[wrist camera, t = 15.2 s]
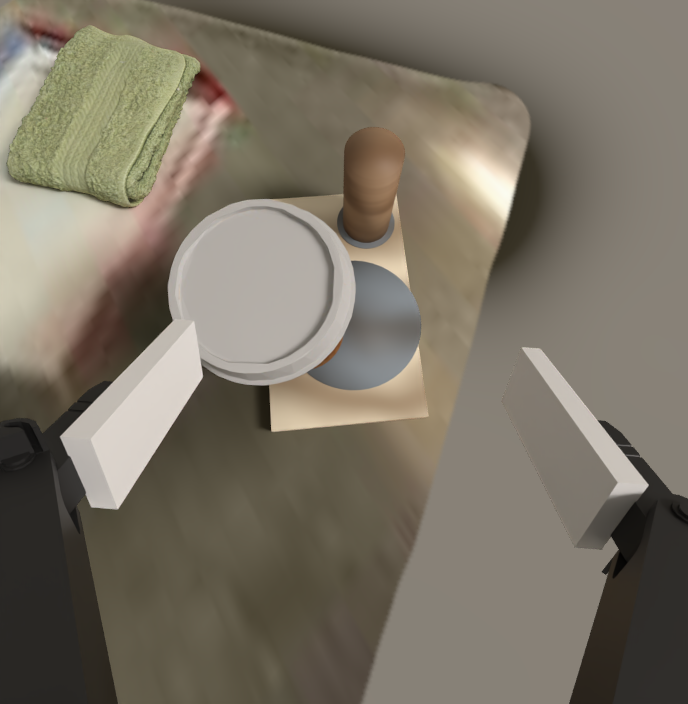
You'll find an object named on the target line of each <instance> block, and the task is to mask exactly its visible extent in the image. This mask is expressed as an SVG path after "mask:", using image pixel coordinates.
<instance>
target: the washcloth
mask: <svg viewBox="0 0 688 704" xmlns="http://www.w3.org/2000/svg"><path fill="white" fill-rule="evenodd" d="M51 70H52V71H51V72H50V73H49V75H48V77H47V78H46V80H45V81H44V86H43V87H41V89H40V95H39V96H38V97H37V98H36V102H35V103H34V105H33V106H32V108H31V111H30V112H29V114H28V115H27V116H25V117H24V118H23V119H22V126H21V127H19V128H18V129H19V130H18V132H17V135H16V136H15V138H14V140H13V144H10V148H9V149H10V153H9V157H8V161H7V166H8V169H9V173H10V175H11V176H12V177H14V179H16V180H19V181H20V182H25V183H31V184H35V185H40V186H45V187H47V186H49V187H52V188H57V189H59V190H61V191H68V192H69V191H72V190H74V191H77V192H82V193H88V194H91V195H93V196H95V197H96V198H98V199H100V200H102V201H110V202H112V203H115V204H117V205H118V204H119V205H120V206H123V207H135V206H137V205H139V204H140V203H141V202H142V201H143V199H144V197H146V196H147V195H148V194H149V193H150V191H151V190H152V187H153V184H154V182H155V181H156V174H157V172H158V170H159V168H160V165H161V159H162V157H163V155H164V154H165V153H166V149H167V146H168V144H169V140H170V137H171V135H172V129H173V128H174V126H175V123H177V119H180V116H179V114H181V112H180V111H181V110H182V109H183V108H182V106H183V103H184V102H185V101H186V98H187V97H186V95H187V94H188V89H189V88H191V87H192V81H194V76H195V74H197V73H198V72H200V63H199V62H198V61H197V60H196V59H195V58H193V57H190V56H188V55H184V54H180V53H178V52H176V51H173V50H167V49H163V48H159V47H156V46H153V45H150V44H148V43H147V42H145V41H143V40H141V39H139V38H136V37H133V36H131V35H123V36H115V35H112V34H109V33H106V32H103V31H101V30H99V29H98V28H96V27H94V26H91V25H90V26H87V27H86V28H83V29H81V30H80V31H77V33H75V35H74V37H73V38H72V39H71V40H70V41H68V43H67V44H65V47H64V48H61V49H60V51H59V53H58V55H57V59H56V60H55V65H54V67H51Z"/></svg>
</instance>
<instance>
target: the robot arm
mask: <svg viewBox="0 0 688 704" xmlns="http://www.w3.org/2000/svg"><path fill="white" fill-rule="evenodd" d="M202 378H203V374H202V367H201V361H200V354H199V348H198V342H197V335H196V329H195V323H194V321H193V320H181V319H175V320H174V321H173V322H172V323H171V324H170V325H169V326H168V327H167V328H166V329H165V330H164V331H163V332H162V333H161V334H160V335H159V336H158V337H157V338H156V339H155V340H154V341H153V342H152V343H151V344H150V345H149V346H148V347H147V348H146V349H145V350H144V351H143V352H142V353H141V354H140V355H139V356H138V357H137V358H136V360H135V361H134V362H133V363H132V364H131V365H130V366H129V367H128V368H127V369H126V370H125V371H124V372H123V373H122V374H121V375H120V376H119V377H118V378H117V379H116V380H115V381H114V382H111V381H103V382H102V383H100V384H98V385H96V386H94V387H93V388H91V389H89V390H88V391H87V392H86V393H85V394H84V395H83V396H82V397H80V398H79V399H78V400H77V403H74V404H73V405H72V406H71V407H70V408H69V409H68V412H67V411H66V412H65V413H64V414H63V415H62V416H61V417H60V418H59V419H57V420H56V421H55V422H54V423H53V424H52V425H51V426H50V427H49V428H48V429H47V430H46V431H45V432H44V433H43V434H42V433H41V431H40V428H39V426H38V425H37V423H36V422H35V421H33V420H31V419H28V418H17V419H12V420H7V421H3V422H0V704H118V702H117V697H116V692H115V687H114V682H113V677H112V672H111V667H110V662H109V657H108V652H107V647H106V642H105V637H104V632H103V627H102V622H101V617H100V612H99V607H98V602H97V597H96V592H95V587H94V582H93V577H92V572H91V567H90V562H89V557H88V552H87V547H86V542H85V537H84V532H83V527H82V522H81V517H80V512H79V510H78V508H77V504H78V503H79V502H80V500H81V499H82V498H83V496H84V495H85V494H86V496H87V499H88V501H89V503H90V505H91V507H95V508H107V509H118V508H119V507H120V505H121V504H122V502H123V501H124V499H125V498H126V496H127V494H128V493H129V491H130V490H131V488H132V487H133V485H134V484H135V482H136V480H137V479H138V477H139V476H140V474H141V473H142V471H143V469H144V468H145V466H146V465H147V463H148V462H149V460H150V459H151V457H152V455H153V454H154V452H155V451H156V449H157V448H158V446H159V445H160V443H161V441H162V440H163V438H164V437H165V435H166V434H167V432H168V431H169V429H170V427H171V426H172V424H173V423H174V421H175V420H176V418H177V417H178V415H179V413H180V412H181V410H182V409H183V407H184V406H185V404H186V403H187V401H188V399H189V398H190V396H191V395H192V393H193V392H194V390H195V389H196V387H197V385H198V384H199V382H200V381H201V379H202ZM502 403H503V405H504V407H505V409H506V411H507V413H508V415H509V417H510V419H511V421H512V423H513V425H514V427H515V429H516V431H517V433H518V435H519V437H520V439H521V441H522V443H523V445H524V447H525V449H526V451H527V453H528V455H529V457H530V459H531V461H532V463H533V465H534V467H535V469H536V471H537V473H538V475H539V477H540V479H541V481H542V483H543V485H544V487H545V489H546V491H547V493H548V495H549V497H550V499H551V501H552V503H553V505H554V507H555V509H556V511H557V513H558V515H559V517H560V519H561V521H562V523H563V525H564V527H565V529H566V531H567V533H568V535H569V537H570V539H571V541H572V543H573V545H574V547H576V548H588V549H600V550H601V549H602V548H603V547H604V545H605V544H606V543H607V541H608V540H609V539H610V537H612V538H613V540H614V542H615V544H616V545H617V547H618V549H619V550H618V551H617V553H616V554H615V555H614V557H613V558H612V559H611V560H610V562H609V563H608V564H607V566H606V567H605V568H604V569H603V571H602V572H603V573H604V574H607V573H608V572H609V573H608V576H607V579H606V583H605V586H604V589H603V593H602V596H601V599H600V603H599V606H598V609H597V613H596V616H595V619H594V623H593V626H592V630H591V633H590V636H589V639H588V643H587V646H586V649H585V653H584V656H583V659H582V663H581V666H580V670H579V673H578V676H577V680H576V683H575V686H574V689H573V693H572V696H571V699H570V703H569V704H688V499H687V498H685V497H682V496H680V495H675V494H672V493H671V491H670V490H669V489H668V488H667V487H666V485H665V484H664V483H663V482H662V481H661V480H660V478H659V477H658V476H657V475H656V474H655V472H654V471H653V470H652V469H651V468H650V466H649V465H648V464H647V463H646V462H645V460H644V459H643V458H640V455H639V453H638V452H637V451H636V450H635V449H634V448H633V447H631V444H630V443H629V442H628V440H627V439H626V438H625V437H624V436H623V434H622V433H621V432H620V431H618V430H617V429H616V428H614V427H613V426H612V425H610V424H609V423H608V422H606V421H599V420H597V419H596V418H595V417H594V416H593V415H592V413H591V412H590V411H589V409H588V408H587V407H586V406H585V404H584V403H583V402H582V401H581V399H580V398H579V397H578V396H577V394H576V393H575V392H574V390H573V389H572V388H571V387H570V385H569V384H568V383H567V382H566V380H565V379H564V378H563V377H562V376H561V374H560V373H559V372H558V370H557V369H556V368H555V367H554V365H553V364H552V363H551V362H550V360H549V359H548V358H547V356H546V355H545V354H544V353H543V351H542V350H541V349H538V348H525V347H521V349H520V352H519V354H518V357H517V360H516V363H515V365H514V368H513V371H512V373H511V376H510V379H509V382H508V384H507V387H506V390H505V393H504V395H503V398H502Z"/></svg>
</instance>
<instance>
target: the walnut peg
mask: <svg viewBox="0 0 688 704" xmlns="http://www.w3.org/2000/svg"><path fill="white" fill-rule="evenodd" d="M404 158H405V149H404V146H403V143H402V142H401V140H400V139H399V138H398V137H397V136H396V135H395V134H394V133H392V132H391V131H389V130H387V129H384V128H379V127H368V128H364V129H361V130H359V131H357V132H355V133H354V134H353V135H352V136H351V137H350V138H349V139H348V141H347V143H346V145H345V150H344V192H343V227H344V229H345V231H346V233H347V234H348V235H349V236H350V237H351V238H352V239H354V240H356V241H358V242H362V243H371V242H375V241H377V240H379V239H381V238H382V237H383V236H384V235H385V234H386V232H387V230H388V227H389V222H390V218H391V214H392V209H393V205H394V201H395V197H396V192H397V188H398V184H399V179H400V175H401V171H402V166H403V162H404Z"/></svg>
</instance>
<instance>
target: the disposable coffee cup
mask: <svg viewBox="0 0 688 704" xmlns="http://www.w3.org/2000/svg"><path fill="white" fill-rule="evenodd" d="M355 293H356V284H355V277H354V270H353V266H352V263H351V260H350V257H349V254H348V251H347V250H346V248H345V247H344V245H343V244H342V242H341V240H340V239H339V237H338V236H337V234H336V233H335V232H334V231H333V230H332V229H331V228H330V227H329V226H328V225H327V224H326V223H325V222H324V221H322V220H321V219H319V218H318V217H316V216H314V215H313V214H311V213H310V212H308V211H305V210H302V209H299V208H297V207H296V206H294V205H292V204H288V203H283V202H279V201H275V200H270V199H256V200H245V201H241V202H237V203H233V204H230V205H228V206H226V207H224V208H222V209H220V210H218V211H216V212H214V213H213V214H211V215H209V216H207V217H206V218H205V219H204V220H203V221H201V222H200V223H199V224H198V225H197V226H196V227H195V228H194V229H193V230H192V231H191V232H190V233H189V235H188V236H187V237H186V239H185V240H184V241H183V242H182V244H181V246H180V248H179V250H178V252H177V254H176V256H175V258H174V261H173V264H172V267H171V271H170V277H169V282H168V298H169V308H170V312H171V315H172V319H173V321H174V320H175V319H181V320H193V321H194V323H195V329H196V335H197V342H198V348H199V354H200V361H201V364H202V365H203V366H204V367H206V368H207V369H209V370H210V371H211V372H213V373H214V374H216V375H217V376H220V377H222V378H225V379H228V380H230V381H233V382H236V383H241V384H246V385H271V384H277V383H281V382H286V381H289V380H292V379H294V378H296V377H299V376H301V375H303V374H305V373H306V372H308V371H310V370H311V369H315V368H318V367H320V366H322V365H324V364H325V363H327V362H328V361H329V360H331V359H332V357H333V356H334V355H335V354H336V353H337V351H338V350H339V348H340V345H341V343H342V340H343V335H344V333H345V331H346V329H347V327H348V324H349V322H350V320H351V317H352V313H353V308H354V303H355Z"/></svg>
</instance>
